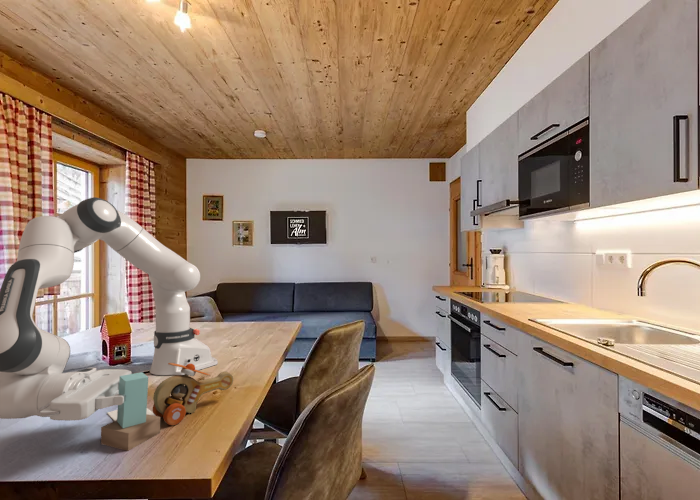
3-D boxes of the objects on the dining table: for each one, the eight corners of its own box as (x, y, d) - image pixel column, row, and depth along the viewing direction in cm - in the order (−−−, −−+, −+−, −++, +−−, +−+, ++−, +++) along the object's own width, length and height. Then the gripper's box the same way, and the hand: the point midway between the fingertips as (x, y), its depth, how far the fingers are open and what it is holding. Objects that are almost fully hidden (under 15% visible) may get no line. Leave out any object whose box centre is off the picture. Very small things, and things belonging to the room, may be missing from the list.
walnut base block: (134, 428, 84) (134, 411, 84) (159, 434, 82) (160, 416, 82) (100, 445, 77) (101, 427, 77) (128, 452, 74) (128, 433, 74)
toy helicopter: (147, 420, 88) (148, 364, 88) (223, 395, 104) (224, 348, 104) (161, 430, 83) (162, 371, 83) (239, 402, 99) (240, 353, 99)
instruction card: (141, 403, 97) (141, 402, 97) (156, 416, 90) (156, 415, 90) (107, 413, 92) (107, 412, 92) (120, 427, 84) (120, 426, 84)
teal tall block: (139, 415, 82) (141, 372, 83) (145, 422, 79) (148, 376, 80) (116, 421, 79) (119, 376, 79) (122, 428, 76) (125, 381, 76)
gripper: (31, 398, 67) (110, 394, 69) (93, 365, 87) (153, 363, 89) (30, 431, 67) (110, 427, 69) (92, 391, 87) (152, 388, 89)
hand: (134, 390), depth 79 cm, fingers open, 8 cm apart
